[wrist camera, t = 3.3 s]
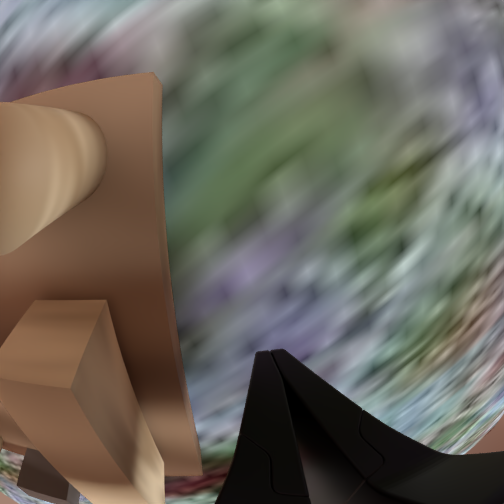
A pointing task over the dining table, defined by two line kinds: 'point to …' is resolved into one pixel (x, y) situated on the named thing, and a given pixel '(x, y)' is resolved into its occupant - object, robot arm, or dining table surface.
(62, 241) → the stool seat
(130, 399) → the folding leg
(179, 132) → the dining table surface
